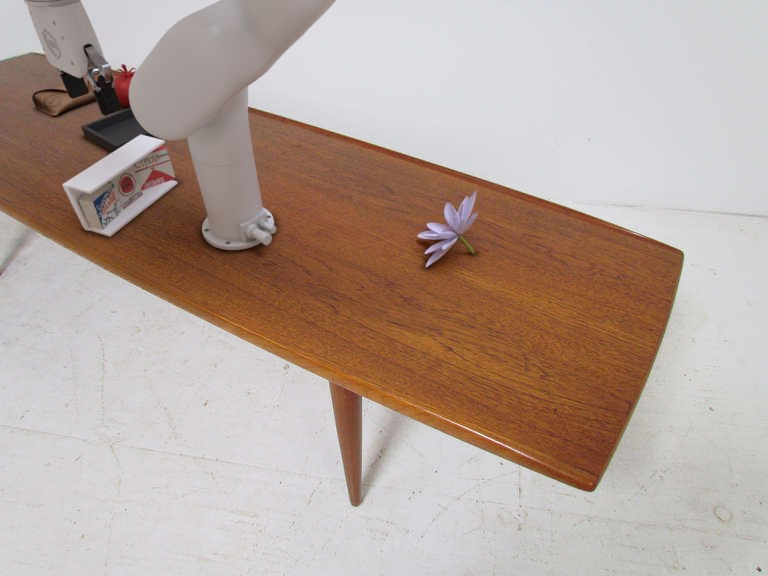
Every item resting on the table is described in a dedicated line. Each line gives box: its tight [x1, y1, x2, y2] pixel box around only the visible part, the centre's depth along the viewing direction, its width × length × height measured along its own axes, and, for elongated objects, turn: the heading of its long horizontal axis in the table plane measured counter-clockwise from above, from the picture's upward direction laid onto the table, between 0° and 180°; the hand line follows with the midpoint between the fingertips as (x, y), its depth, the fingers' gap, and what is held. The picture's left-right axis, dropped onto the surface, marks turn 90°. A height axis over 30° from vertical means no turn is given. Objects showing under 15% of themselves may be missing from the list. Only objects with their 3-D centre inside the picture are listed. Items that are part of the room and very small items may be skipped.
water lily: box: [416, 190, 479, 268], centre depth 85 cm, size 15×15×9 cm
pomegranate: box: [112, 63, 137, 108], centre depth 121 cm, size 10×10×9 cm
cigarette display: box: [61, 134, 179, 238], centre depth 91 cm, size 20×6×9 cm, turn 158°
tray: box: [80, 107, 162, 153], centre depth 115 cm, size 14×24×3 cm, turn 143°
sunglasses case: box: [31, 73, 100, 117], centre depth 124 cm, size 18×7×7 cm
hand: (95, 103), depth 83 cm, fingers open, 9 cm apart
